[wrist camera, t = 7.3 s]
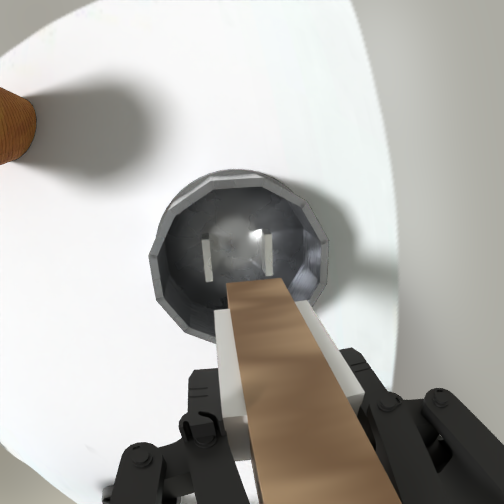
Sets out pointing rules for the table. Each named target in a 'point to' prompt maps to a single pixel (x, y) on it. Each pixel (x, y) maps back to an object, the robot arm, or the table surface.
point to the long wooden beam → (298, 408)
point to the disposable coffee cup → (15, 126)
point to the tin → (234, 246)
